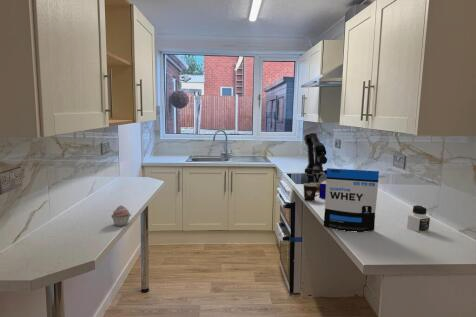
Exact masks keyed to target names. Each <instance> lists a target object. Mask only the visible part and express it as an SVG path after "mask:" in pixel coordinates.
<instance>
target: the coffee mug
mask: <svg viewBox="0 0 476 317" xmlns="http://www.w3.org/2000/svg"><path fill="white" fill-rule="evenodd" d="M319 188H320V187H319ZM319 188H317V185H316V184H311V183H306V182H305V183H303V197H304V201H306V202H314V201H315V199H316V197H317V196H319V195H320V194H321V193H322V192H323V189H322V188H320V189H322V192H321V193H320V192H319V193H320V194H319V193H318V194H317V192H316V191H317V189H319Z"/></svg>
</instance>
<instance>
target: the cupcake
mask: <svg viewBox="0 0 476 317" xmlns="http://www.w3.org/2000/svg"><path fill="white" fill-rule="evenodd" d="M112 212H113V213H112V215H110V216H111V219H112V220H113V224H114V226H115V227H125V226H127V225H129V220H130V217H131V215H132V214H131V213H130V212H129V210H128V209H127V207H125V206H124V205H122V204H121V205H119V206H117V207H116V209H114V210H113V211H112Z"/></svg>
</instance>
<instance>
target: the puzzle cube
mask: <svg viewBox="0 0 476 317" xmlns="http://www.w3.org/2000/svg"><path fill="white" fill-rule="evenodd" d="M320 188H322V189H323V192H322V189H320V192H318V194H320V193H321V192H322V193H321V194H320V195H318V196H319V198H320V199H324V200H325V197H326V181H323V182H322V183H320Z"/></svg>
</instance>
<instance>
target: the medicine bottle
mask: <svg viewBox="0 0 476 317" xmlns="http://www.w3.org/2000/svg"><path fill="white" fill-rule="evenodd" d="M427 209H428V208H427V207H426V206H424V205H419V204H417V205H413V206H412V213H410V214H408V215H407V223H406V228H407V229H409V230H411V231H413V232H416V233H423V232H429V230H430V229H429V228H430V222H431V221H430V220H431V217H430V216H427V211H428V210H427Z"/></svg>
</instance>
